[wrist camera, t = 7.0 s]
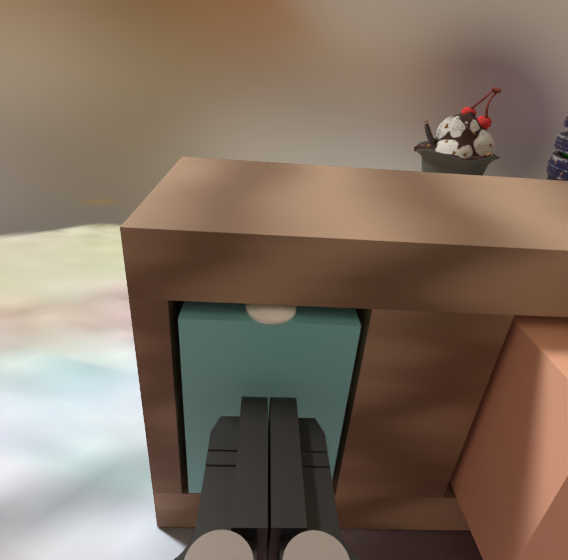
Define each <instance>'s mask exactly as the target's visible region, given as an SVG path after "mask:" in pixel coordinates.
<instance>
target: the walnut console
mask: <svg viewBox="0 0 568 560" xmlns="http://www.w3.org/2000/svg"><path fill="white" fill-rule="evenodd" d="M120 231H121V239H122V247H123V255H124V263H125V271H126V279H127V287H128V295H129V303H130V311H131V319H132V327H133V335H134V343H135V351H136V359H137V367H138V375H139V383H140V391H141V399H142V407H143V415H144V423H145V431H146V439H147V447H148V455H149V463H150V471H151V479H152V487H153V495H154V503H155V511H156V519H157V527H190V528H196V523H197V516H198V510H199V504H200V497H201V493H189V488H188V472H187V456H186V440H185V424H184V407H183V391H182V375H181V359H180V343H179V326H178V317H179V314H180V312H181V309H182V306H183V303H184V301H196V302H219V303H243V304H266V305H290V306H313V307H337V308H355V309H356V312H357V315H358V318H359V321H360V324H361V330H360V335H359V340H358V346H357V351H356V356H355V362H354V367H353V372H352V378H351V383H350V388H349V394H348V399H347V404H346V409H345V415H344V420H343V425H342V431H341V436H340V441H339V447H338V452H337V457H336V463H335V468H334V473H333V479H332V483H333V490H334V497H335V503H336V510H337V516H338V523H339V529H376V530H470V528H469V526H468V523H467V521H466V519H465V516H464V514H463V512H462V509H461V507H460V505H459V502H458V500H457V497H456V495H455V493H454V490H453V488H452V486H451V483H450V478H451V476H452V473H453V471H454V468H455V466H456V463H457V460H458V458H459V455H460V453H461V450H462V448H463V445H464V443H465V440H466V438H467V435H468V432H469V430H470V427H471V425H472V422H473V420H474V417H475V415H476V412H477V409H478V407H479V404H480V402H481V399H482V397H483V394H484V392H485V389H486V386H487V384H488V381H489V379H490V376H491V374H492V371H493V369H494V366H495V364H496V361H497V358H498V356H499V353H500V351H501V348H502V346H503V343H504V341H505V338H506V335H507V333H508V330H509V328H510V325H511V323H512V320H513V318H514V315H525V316H548V317H568V181H560V180H544V179H528V178H512V177H496V176H480V175H464V174H448V173H432V172H416V171H400V170H384V169H368V168H352V167H337V166H321V165H304V164H288V163H271V162H257V161H241V160H225V159H209V158H193V157H181V159H180V160H179V161H178V162H177V163H176V164H175V165H174V167H173V168H172V169H171V170H170V171H169V172H168V173H167V175H166V176H165V177H164V178H163V179H162V180H161V181H160V183H159V184H158V185H157V186H156V187H155V188H154V189H153V190H152V192H151V193H150V194H149V195H148V196H147V197H146V198H145V199H144V201H143V202H142V203H141V204H140V205H139V206H138V207H137V208H136V210H135V211H134V212H133V213H132V214H131V215H130V217H129V218H128V219H127V220H126V221H125V222H124V223H123V224H122V225H121V227H120ZM470 531H471V530H470Z"/></svg>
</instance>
